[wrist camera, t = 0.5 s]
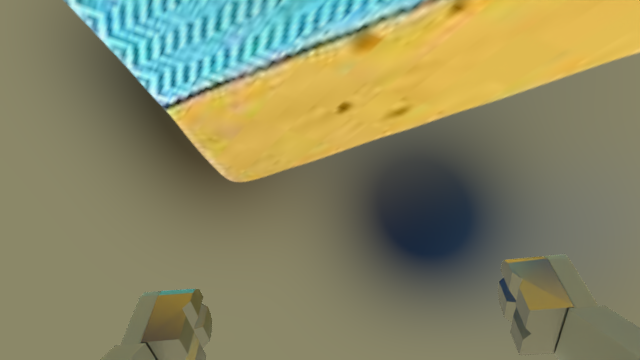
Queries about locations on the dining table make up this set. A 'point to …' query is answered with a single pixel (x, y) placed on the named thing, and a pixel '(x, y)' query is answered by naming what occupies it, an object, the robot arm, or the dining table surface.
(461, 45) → the dining table surface
